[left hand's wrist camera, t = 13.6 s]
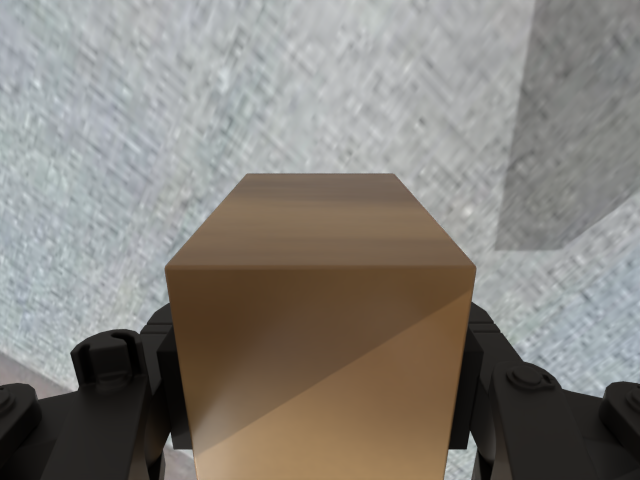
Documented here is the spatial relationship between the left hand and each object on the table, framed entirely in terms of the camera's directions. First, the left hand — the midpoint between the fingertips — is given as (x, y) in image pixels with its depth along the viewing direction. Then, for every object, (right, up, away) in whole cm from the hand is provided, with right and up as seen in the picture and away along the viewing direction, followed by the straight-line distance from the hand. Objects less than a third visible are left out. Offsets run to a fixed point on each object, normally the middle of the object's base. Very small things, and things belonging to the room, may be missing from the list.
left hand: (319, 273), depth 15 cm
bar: (0, -8, +4) cm, 9 cm away
